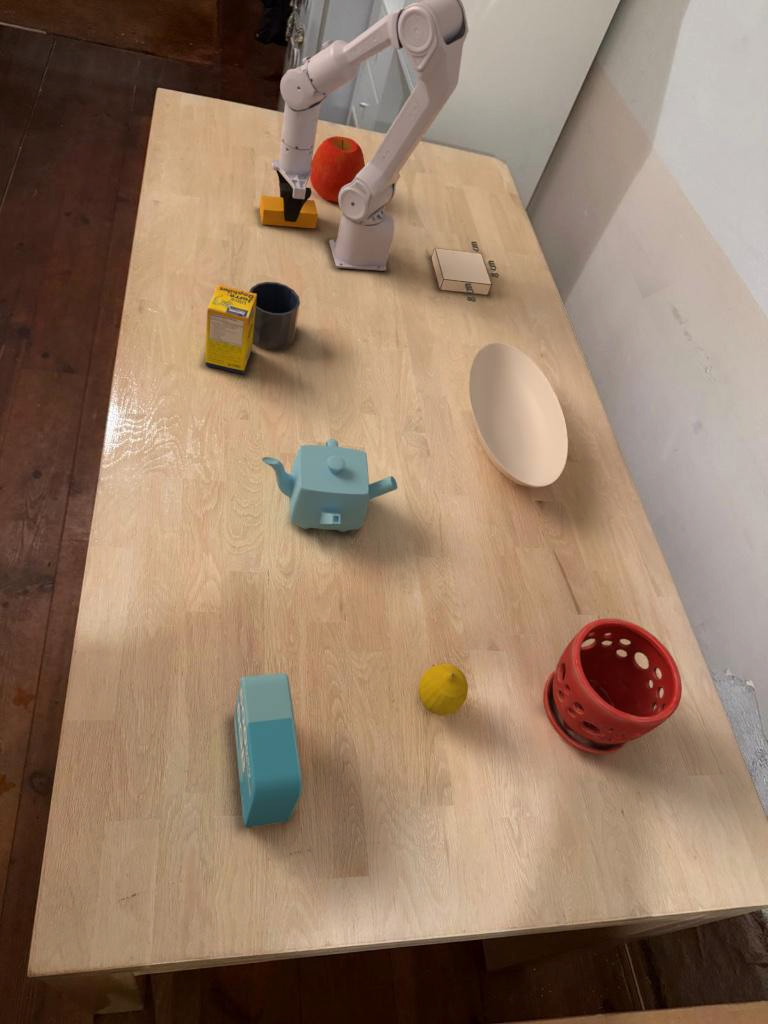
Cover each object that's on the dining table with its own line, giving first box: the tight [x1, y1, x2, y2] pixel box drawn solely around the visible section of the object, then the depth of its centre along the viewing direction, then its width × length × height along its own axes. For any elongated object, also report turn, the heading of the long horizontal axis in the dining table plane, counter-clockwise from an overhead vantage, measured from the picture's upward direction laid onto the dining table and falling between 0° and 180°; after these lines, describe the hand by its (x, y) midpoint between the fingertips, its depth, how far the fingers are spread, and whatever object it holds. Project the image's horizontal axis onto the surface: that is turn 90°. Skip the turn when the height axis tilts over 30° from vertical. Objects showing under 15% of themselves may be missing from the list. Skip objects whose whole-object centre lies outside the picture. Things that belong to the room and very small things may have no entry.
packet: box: [259, 195, 319, 229], centre depth 138 cm, size 10×4×3 cm, turn 102°
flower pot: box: [542, 618, 683, 755], centre depth 87 cm, size 13×13×12 cm
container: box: [430, 241, 500, 303], centre depth 140 cm, size 20×11×3 cm, turn 8°
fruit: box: [418, 663, 469, 716], centre depth 85 cm, size 6×6×8 cm
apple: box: [309, 135, 366, 203], centre depth 145 cm, size 11×11×11 cm
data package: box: [233, 672, 303, 828], centre depth 74 cm, size 12×4×12 cm, turn 12°
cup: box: [248, 281, 301, 351], centre depth 117 cm, size 8×8×7 cm
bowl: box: [468, 342, 569, 488], centre depth 115 cm, size 30×15×6 cm, turn 4°
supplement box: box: [205, 283, 257, 375], centre depth 110 cm, size 6×6×11 cm
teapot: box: [261, 438, 398, 532], centre depth 97 cm, size 18×14×10 cm
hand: (288, 212), depth 138 cm, fingers closed on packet, 4 cm apart
